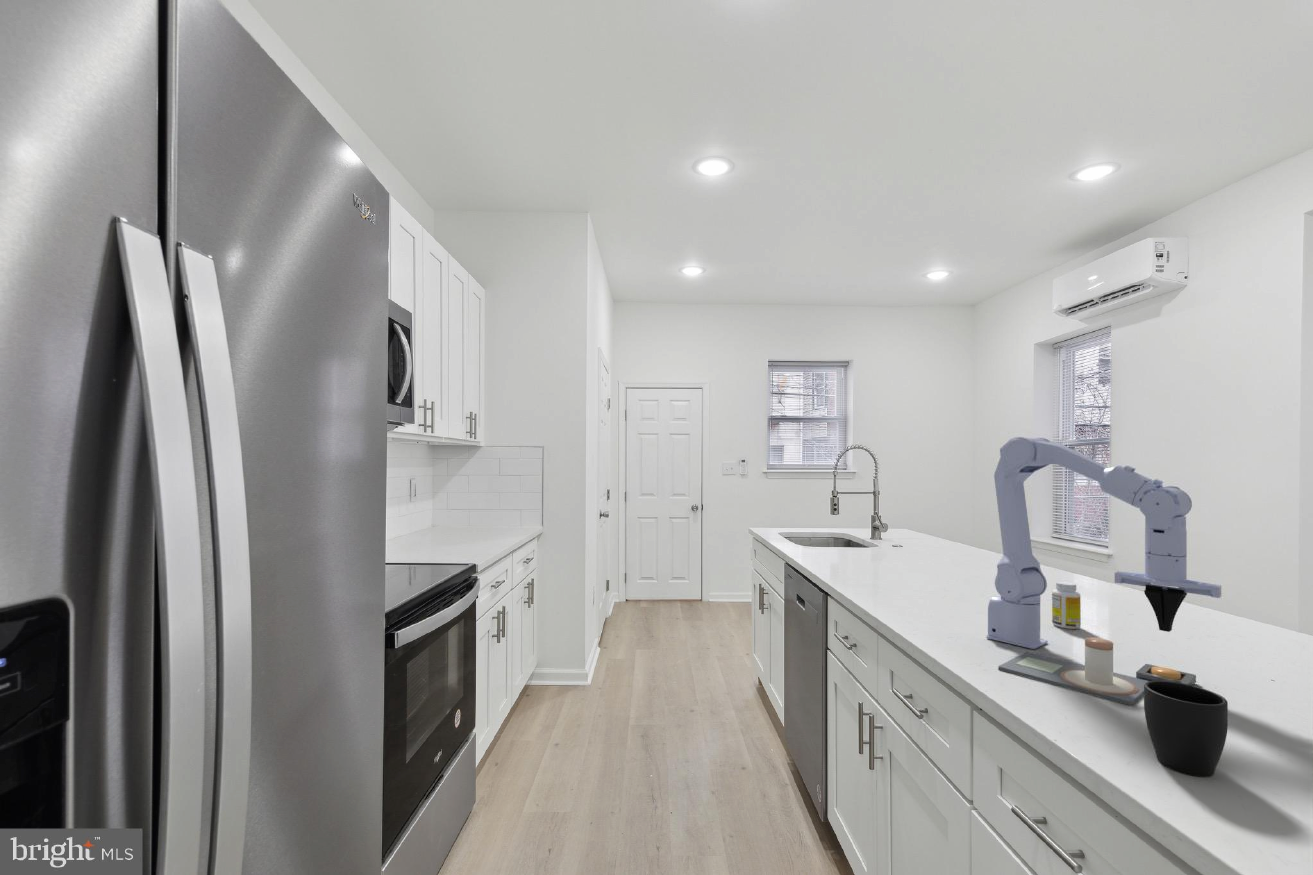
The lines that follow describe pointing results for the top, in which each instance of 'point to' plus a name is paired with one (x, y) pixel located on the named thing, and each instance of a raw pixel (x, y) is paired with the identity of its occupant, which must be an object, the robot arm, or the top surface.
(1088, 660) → the white and brown cylinder
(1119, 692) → the picture board
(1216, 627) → the top surface
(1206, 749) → the black oval cup
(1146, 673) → the button housing
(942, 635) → the top surface
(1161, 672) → the button
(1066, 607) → the supplement bottle
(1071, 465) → the robot arm
